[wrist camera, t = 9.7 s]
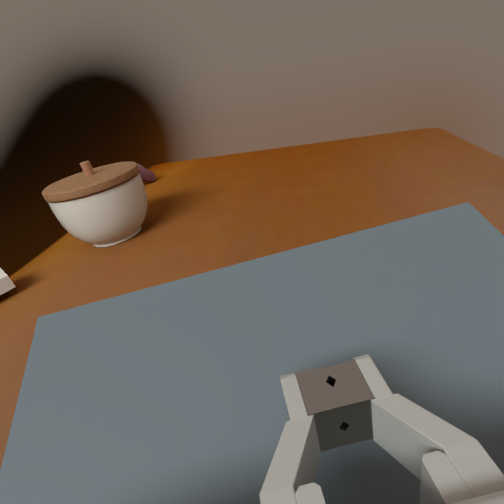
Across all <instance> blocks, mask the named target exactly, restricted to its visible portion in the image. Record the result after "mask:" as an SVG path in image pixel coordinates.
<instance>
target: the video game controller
mask: <svg viewBox="0 0 504 504" xmlns="http://www.w3.org/2000/svg"><path fill="white" fill-rule="evenodd" d="M138 167H139V170H140V172H139V173H140V175H141V178H142V180H143V181H146V182H154V181H155V180H156V177H155V174H154V173H153V172H152V171H150V170H148V169H146V168H144V167H143V166H141V165H139V164H138Z"/></svg>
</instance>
